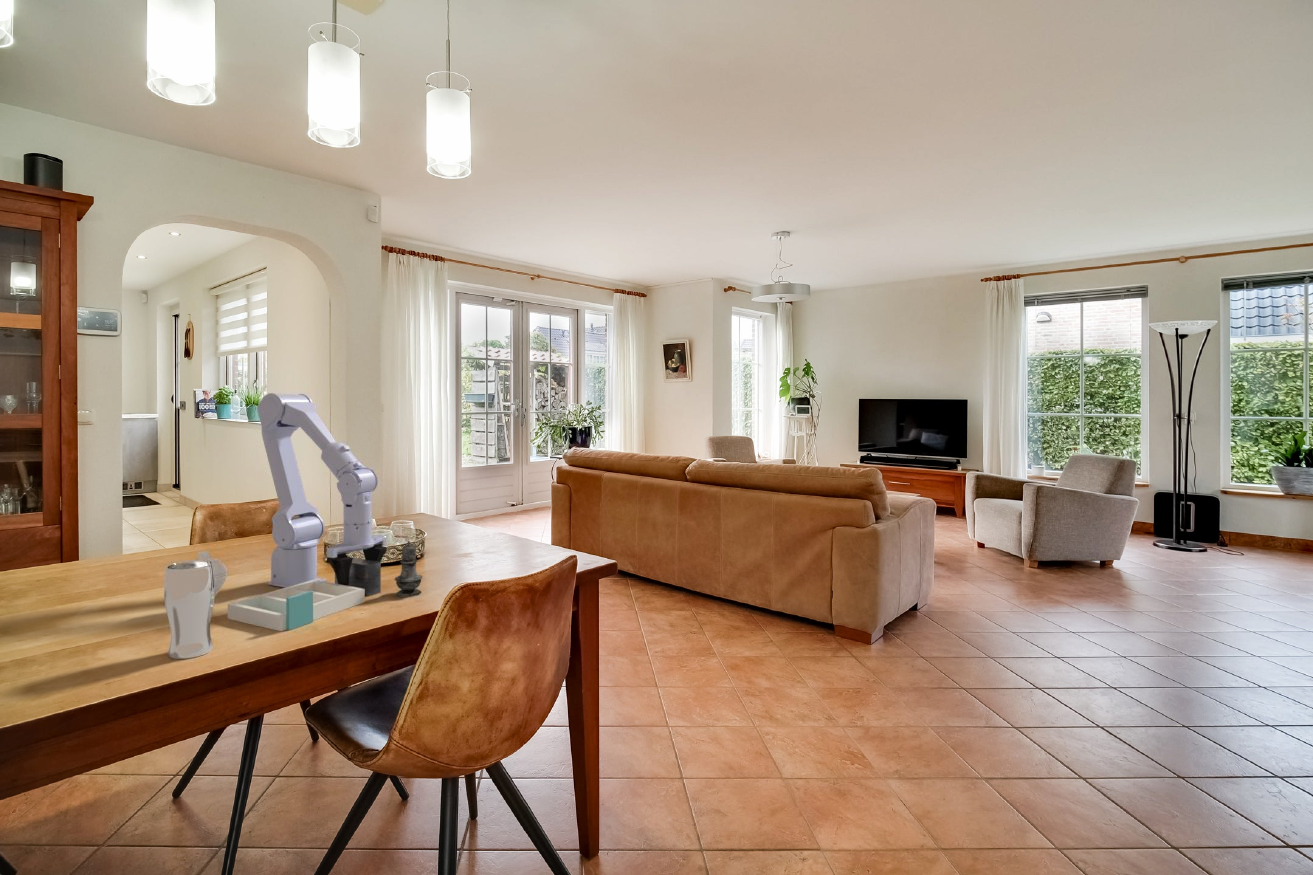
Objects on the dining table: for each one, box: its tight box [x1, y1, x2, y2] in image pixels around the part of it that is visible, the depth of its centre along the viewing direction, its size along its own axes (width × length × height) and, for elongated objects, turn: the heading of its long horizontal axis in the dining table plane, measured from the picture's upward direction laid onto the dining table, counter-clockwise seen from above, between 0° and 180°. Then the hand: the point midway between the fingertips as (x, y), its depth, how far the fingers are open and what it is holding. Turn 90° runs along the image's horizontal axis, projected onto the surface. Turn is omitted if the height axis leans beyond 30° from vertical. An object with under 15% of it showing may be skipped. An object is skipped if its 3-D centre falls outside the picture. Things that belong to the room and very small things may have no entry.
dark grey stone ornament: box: [394, 540, 424, 598], centre depth 141 cm, size 6×6×12 cm
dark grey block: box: [334, 556, 382, 598], centre depth 141 cm, size 10×4×7 cm, turn 68°
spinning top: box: [195, 550, 228, 597], centre depth 126 cm, size 8×8×12 cm
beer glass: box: [163, 559, 216, 660], centre depth 106 cm, size 7×7×15 cm
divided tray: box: [227, 580, 366, 632], centre depth 128 cm, size 16×19×6 cm
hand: (357, 582), depth 141 cm, fingers open, 7 cm apart
